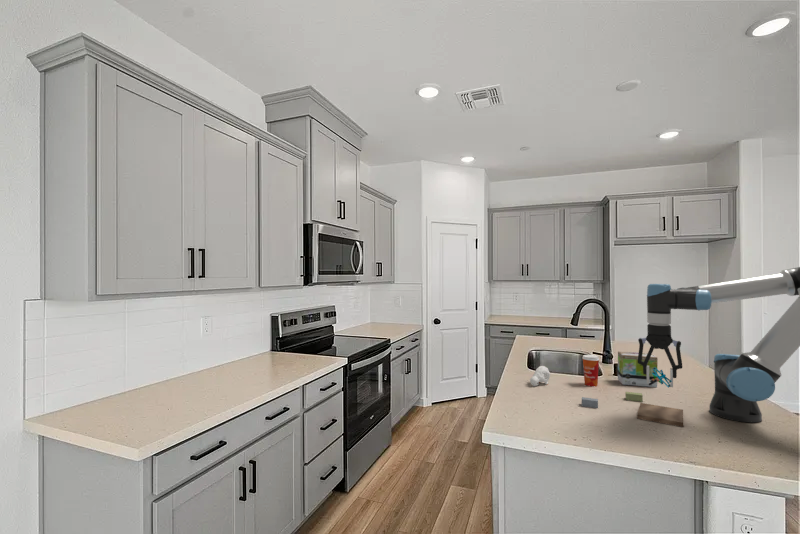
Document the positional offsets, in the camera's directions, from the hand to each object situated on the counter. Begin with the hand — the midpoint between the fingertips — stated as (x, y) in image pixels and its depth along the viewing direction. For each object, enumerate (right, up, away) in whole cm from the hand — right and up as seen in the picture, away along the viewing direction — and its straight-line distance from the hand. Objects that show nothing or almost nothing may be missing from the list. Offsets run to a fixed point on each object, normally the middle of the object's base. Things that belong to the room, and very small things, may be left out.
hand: (659, 384), depth 148 cm
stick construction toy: (-1, -1, +1) cm, 1 cm away
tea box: (+17, -13, +43) cm, 48 cm away
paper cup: (-6, -13, +41) cm, 43 cm away
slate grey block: (-21, -12, +11) cm, 27 cm away
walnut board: (0, -12, 0) cm, 12 cm away
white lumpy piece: (-31, -13, +42) cm, 54 cm away
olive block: (+1, -12, +19) cm, 22 cm away
